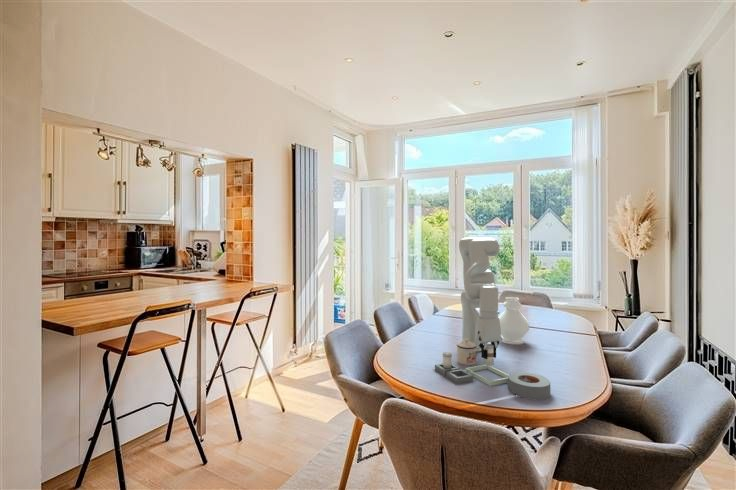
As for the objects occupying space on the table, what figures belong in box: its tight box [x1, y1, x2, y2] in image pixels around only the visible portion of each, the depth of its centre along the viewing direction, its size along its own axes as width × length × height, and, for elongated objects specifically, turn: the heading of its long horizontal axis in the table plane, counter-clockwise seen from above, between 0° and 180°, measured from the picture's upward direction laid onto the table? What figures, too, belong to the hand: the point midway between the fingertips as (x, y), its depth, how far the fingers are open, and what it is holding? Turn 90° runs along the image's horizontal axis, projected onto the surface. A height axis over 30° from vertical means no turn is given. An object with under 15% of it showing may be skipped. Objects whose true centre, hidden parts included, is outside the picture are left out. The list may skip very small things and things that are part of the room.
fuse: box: [442, 351, 453, 369], centre depth 160 cm, size 4×4×8 cm
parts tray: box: [464, 364, 509, 387], centre depth 154 cm, size 12×16×2 cm
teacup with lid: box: [456, 339, 477, 366], centre depth 173 cm, size 12×9×12 cm
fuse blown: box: [483, 343, 495, 366], centre depth 153 cm, size 4×4×8 cm
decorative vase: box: [498, 296, 530, 345], centre depth 207 cm, size 18×18×25 cm
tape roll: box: [507, 371, 551, 401], centre depth 141 cm, size 15×15×5 cm
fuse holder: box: [432, 362, 476, 386], centre depth 155 cm, size 18×10×3 cm, turn 22°
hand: (488, 357), depth 153 cm, fingers closed on fuse blown, 3 cm apart
